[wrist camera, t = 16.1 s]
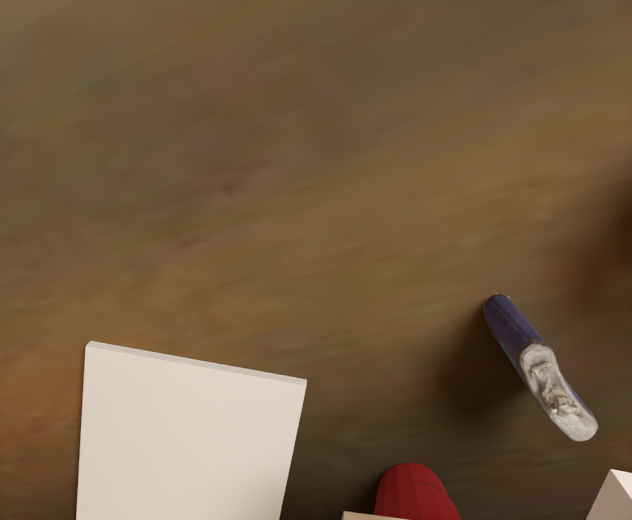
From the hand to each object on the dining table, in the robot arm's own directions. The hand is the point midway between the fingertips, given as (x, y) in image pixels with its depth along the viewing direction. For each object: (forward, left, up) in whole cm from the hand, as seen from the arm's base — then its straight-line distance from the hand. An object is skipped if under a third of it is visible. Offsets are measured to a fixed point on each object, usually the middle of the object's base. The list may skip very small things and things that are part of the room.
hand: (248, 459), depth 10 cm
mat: (-7, -28, -34) cm, 45 cm away
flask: (+19, -11, -34) cm, 41 cm away
